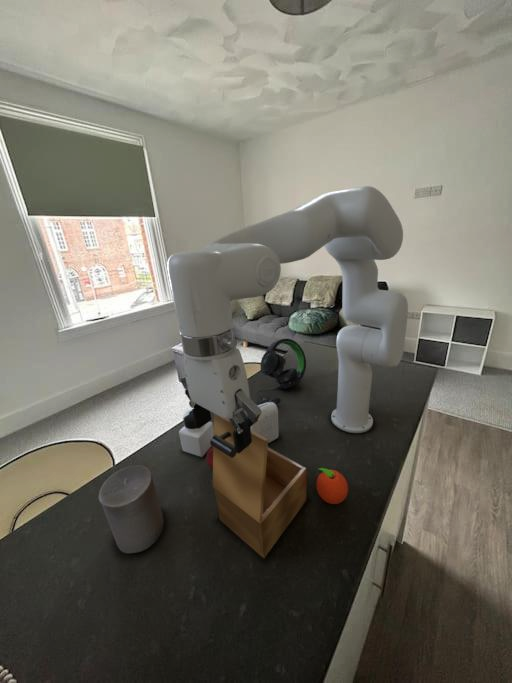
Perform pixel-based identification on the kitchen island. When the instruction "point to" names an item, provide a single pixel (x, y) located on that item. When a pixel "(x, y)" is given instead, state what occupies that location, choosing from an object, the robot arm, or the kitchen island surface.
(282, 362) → the headset
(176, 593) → the kitchen island surface
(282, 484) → the chest
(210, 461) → the onion
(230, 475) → the lid
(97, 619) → the kitchen island surface
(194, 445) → the medicine bottle
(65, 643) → the kitchen island surface
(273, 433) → the photo printer
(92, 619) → the kitchen island surface
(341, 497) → the clementine
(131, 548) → the pillar candle
